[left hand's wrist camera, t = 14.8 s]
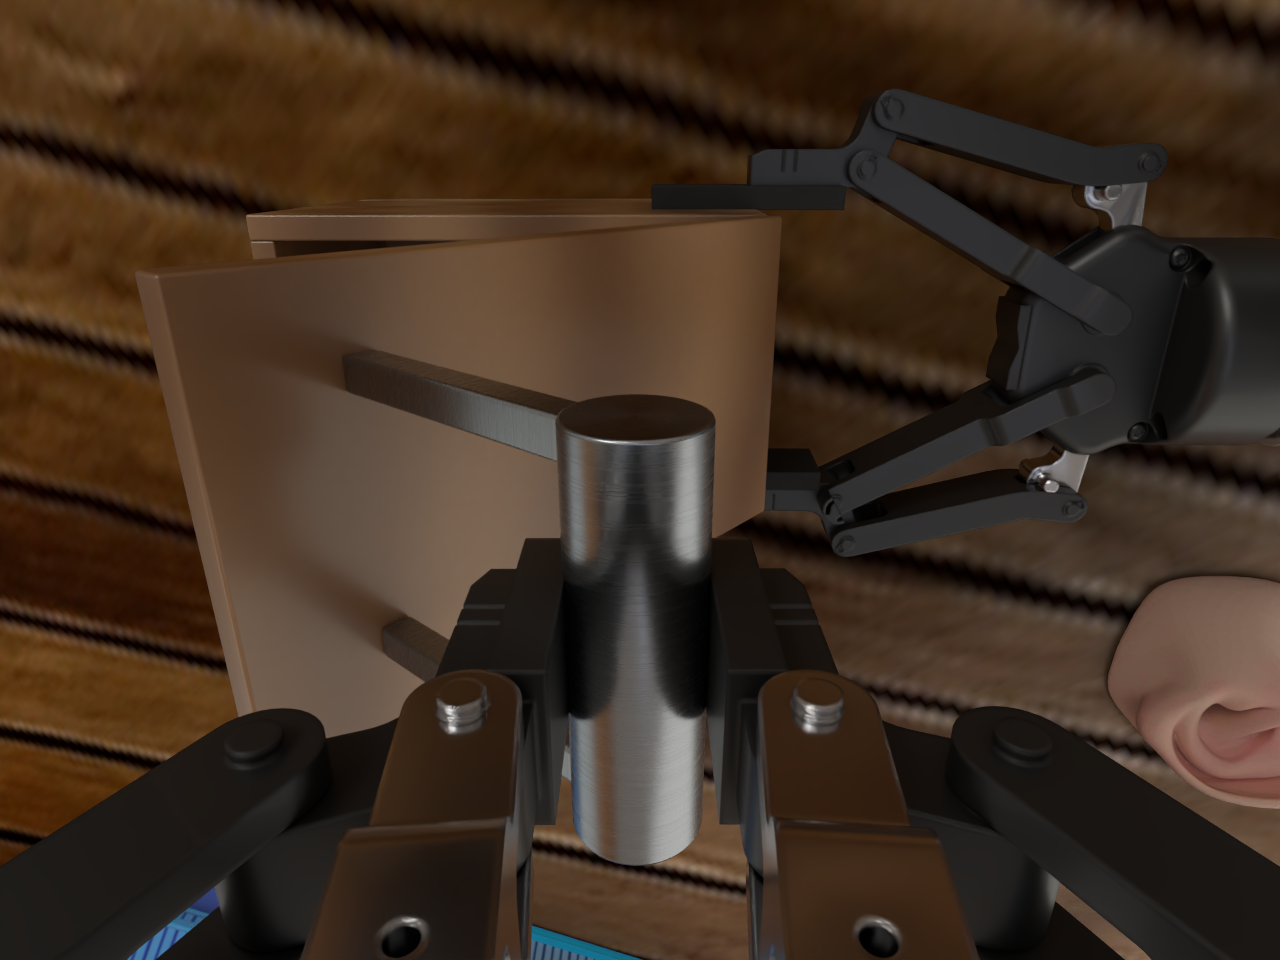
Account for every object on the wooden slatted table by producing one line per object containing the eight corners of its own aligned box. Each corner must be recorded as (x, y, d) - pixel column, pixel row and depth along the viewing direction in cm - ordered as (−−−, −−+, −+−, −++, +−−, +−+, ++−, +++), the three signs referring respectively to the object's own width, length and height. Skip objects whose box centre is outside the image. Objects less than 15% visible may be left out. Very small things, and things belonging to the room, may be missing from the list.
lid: (250, 769, 16) (544, 1074, 10) (131, 269, 12) (492, 349, 7) (743, 504, 28) (995, 583, 22) (758, 214, 24) (1061, 228, 19)
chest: (395, 407, 39) (294, 497, 28) (369, 198, 35) (243, 214, 25) (729, 409, 38) (752, 502, 28) (738, 198, 35) (768, 213, 24)
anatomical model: (1144, 634, 37) (1410, 585, 36) (1101, 591, 41) (1341, 545, 39) (1150, 843, 42) (1385, 806, 40) (1111, 788, 46) (1325, 753, 44)
